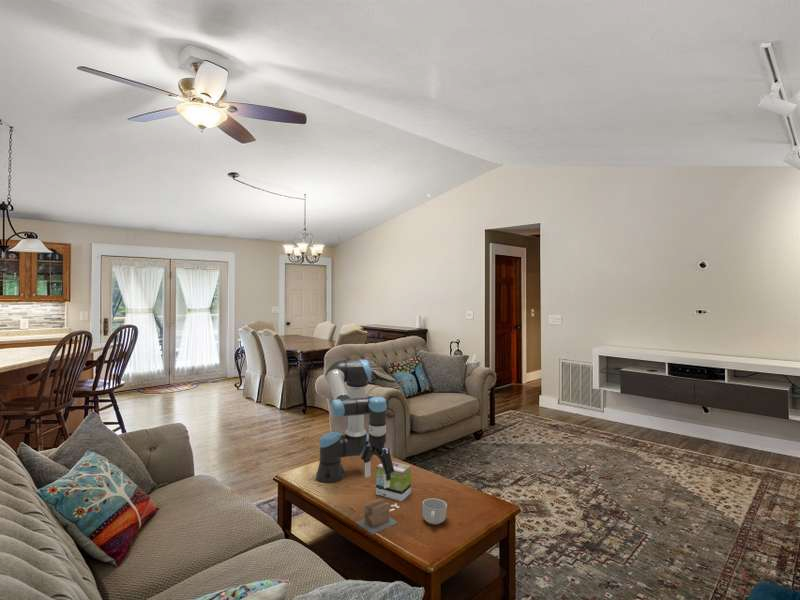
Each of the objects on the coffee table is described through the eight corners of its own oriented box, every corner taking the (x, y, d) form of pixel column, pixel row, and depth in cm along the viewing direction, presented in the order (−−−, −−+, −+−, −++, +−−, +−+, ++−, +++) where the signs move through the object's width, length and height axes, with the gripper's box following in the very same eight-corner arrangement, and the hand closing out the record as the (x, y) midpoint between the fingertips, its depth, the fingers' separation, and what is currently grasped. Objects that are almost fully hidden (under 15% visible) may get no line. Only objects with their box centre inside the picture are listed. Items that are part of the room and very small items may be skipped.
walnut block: (364, 522, 190) (364, 504, 190) (380, 515, 196) (380, 498, 196) (372, 528, 185) (373, 509, 185) (389, 521, 191) (389, 503, 191)
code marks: (384, 508, 204) (384, 508, 204) (396, 503, 208) (396, 503, 208) (389, 511, 200) (389, 511, 200) (401, 506, 205) (401, 506, 205)
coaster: (355, 522, 191) (355, 522, 190) (380, 512, 200) (380, 511, 200) (372, 534, 181) (372, 533, 181) (398, 523, 191) (398, 522, 191)
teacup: (426, 513, 199) (426, 495, 199) (449, 517, 196) (449, 500, 195) (416, 528, 186) (416, 509, 186) (441, 533, 183) (441, 514, 182)
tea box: (375, 495, 217) (375, 465, 217) (385, 487, 226) (385, 459, 225) (402, 502, 210) (402, 471, 210) (411, 493, 219) (411, 464, 218)
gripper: (353, 428, 197) (353, 474, 198) (388, 443, 178) (388, 494, 179) (367, 424, 202) (366, 470, 202) (402, 439, 183) (402, 489, 184)
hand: (376, 481), depth 191 cm, fingers open, 13 cm apart
